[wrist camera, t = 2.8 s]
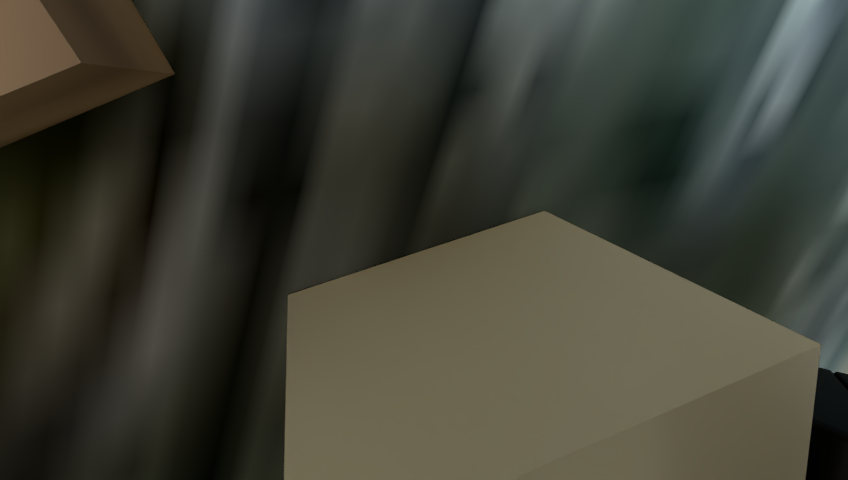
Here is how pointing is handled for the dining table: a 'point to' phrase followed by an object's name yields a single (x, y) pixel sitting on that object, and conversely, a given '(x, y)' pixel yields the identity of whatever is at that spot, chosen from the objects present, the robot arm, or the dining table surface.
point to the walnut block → (70, 60)
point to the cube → (539, 369)
